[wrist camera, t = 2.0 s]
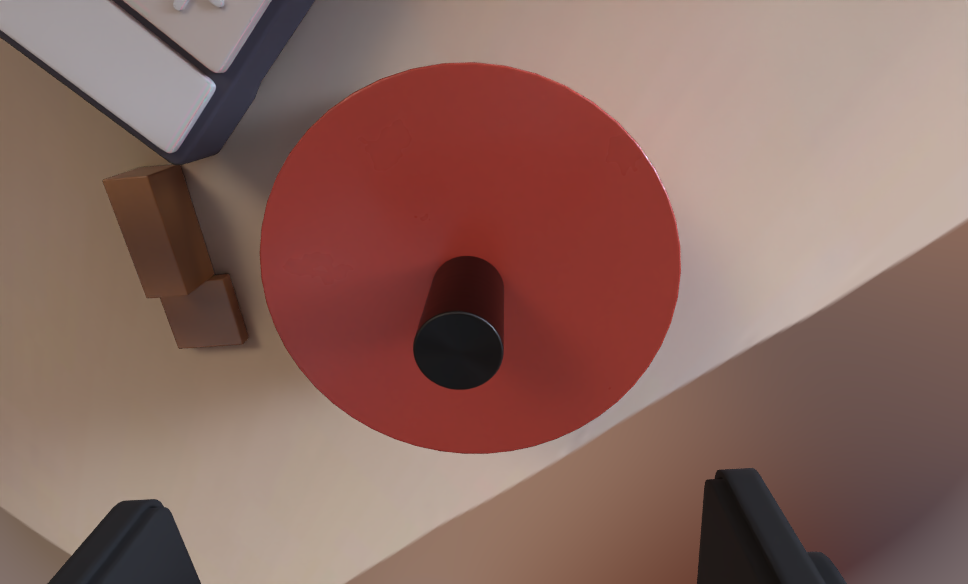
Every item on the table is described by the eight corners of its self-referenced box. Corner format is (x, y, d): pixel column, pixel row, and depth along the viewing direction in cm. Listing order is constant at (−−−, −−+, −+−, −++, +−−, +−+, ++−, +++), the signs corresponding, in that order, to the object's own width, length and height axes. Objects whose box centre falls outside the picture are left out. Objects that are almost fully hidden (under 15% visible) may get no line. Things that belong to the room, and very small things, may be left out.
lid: (222, 85, 18) (111, 101, 13) (681, 38, 17) (757, 35, 12) (319, 444, 24) (269, 552, 19) (664, 426, 23) (709, 535, 18)
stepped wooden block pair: (123, 168, 28) (84, 181, 25) (195, 161, 27) (163, 173, 25) (185, 342, 32) (157, 368, 29) (249, 337, 32) (226, 363, 29)
